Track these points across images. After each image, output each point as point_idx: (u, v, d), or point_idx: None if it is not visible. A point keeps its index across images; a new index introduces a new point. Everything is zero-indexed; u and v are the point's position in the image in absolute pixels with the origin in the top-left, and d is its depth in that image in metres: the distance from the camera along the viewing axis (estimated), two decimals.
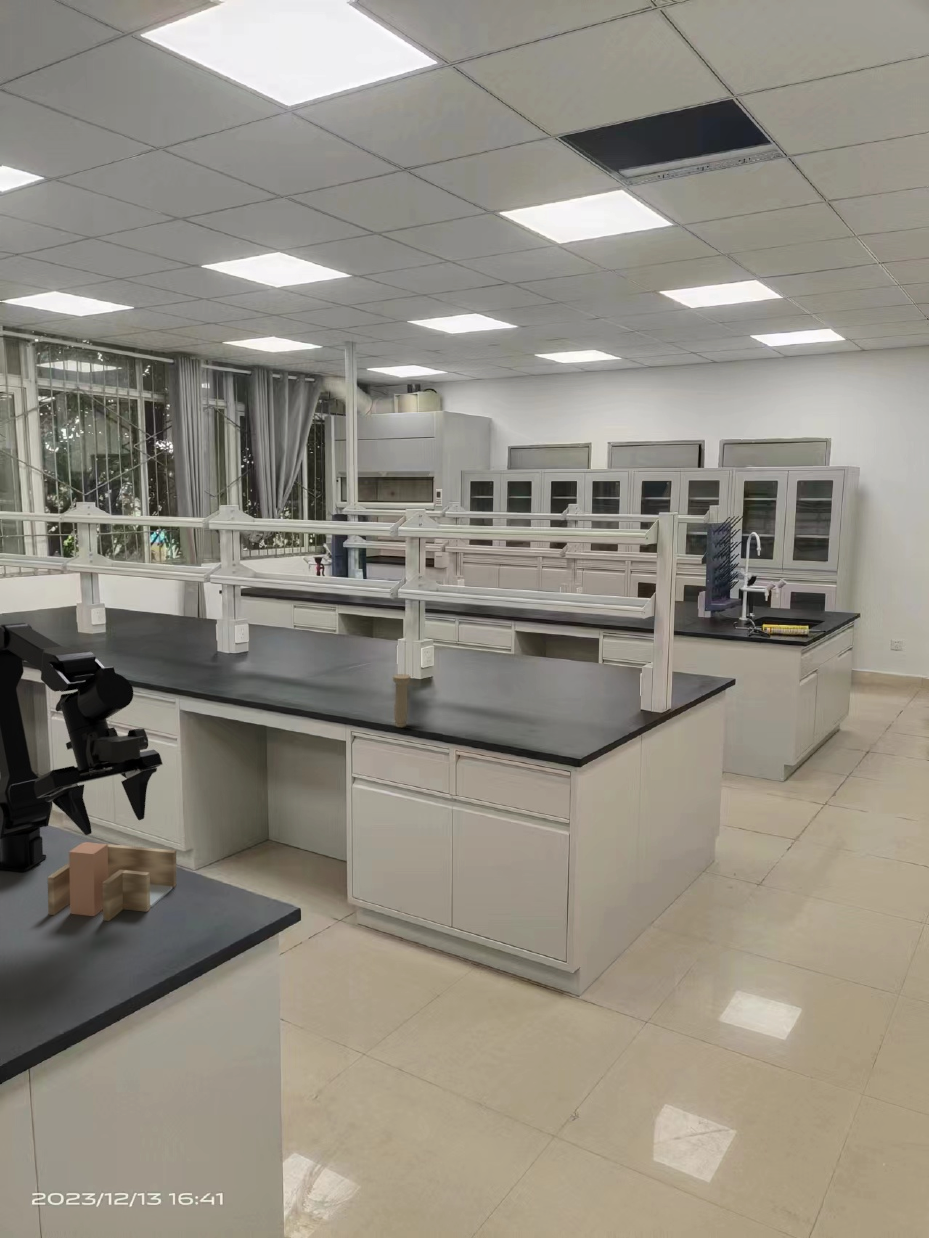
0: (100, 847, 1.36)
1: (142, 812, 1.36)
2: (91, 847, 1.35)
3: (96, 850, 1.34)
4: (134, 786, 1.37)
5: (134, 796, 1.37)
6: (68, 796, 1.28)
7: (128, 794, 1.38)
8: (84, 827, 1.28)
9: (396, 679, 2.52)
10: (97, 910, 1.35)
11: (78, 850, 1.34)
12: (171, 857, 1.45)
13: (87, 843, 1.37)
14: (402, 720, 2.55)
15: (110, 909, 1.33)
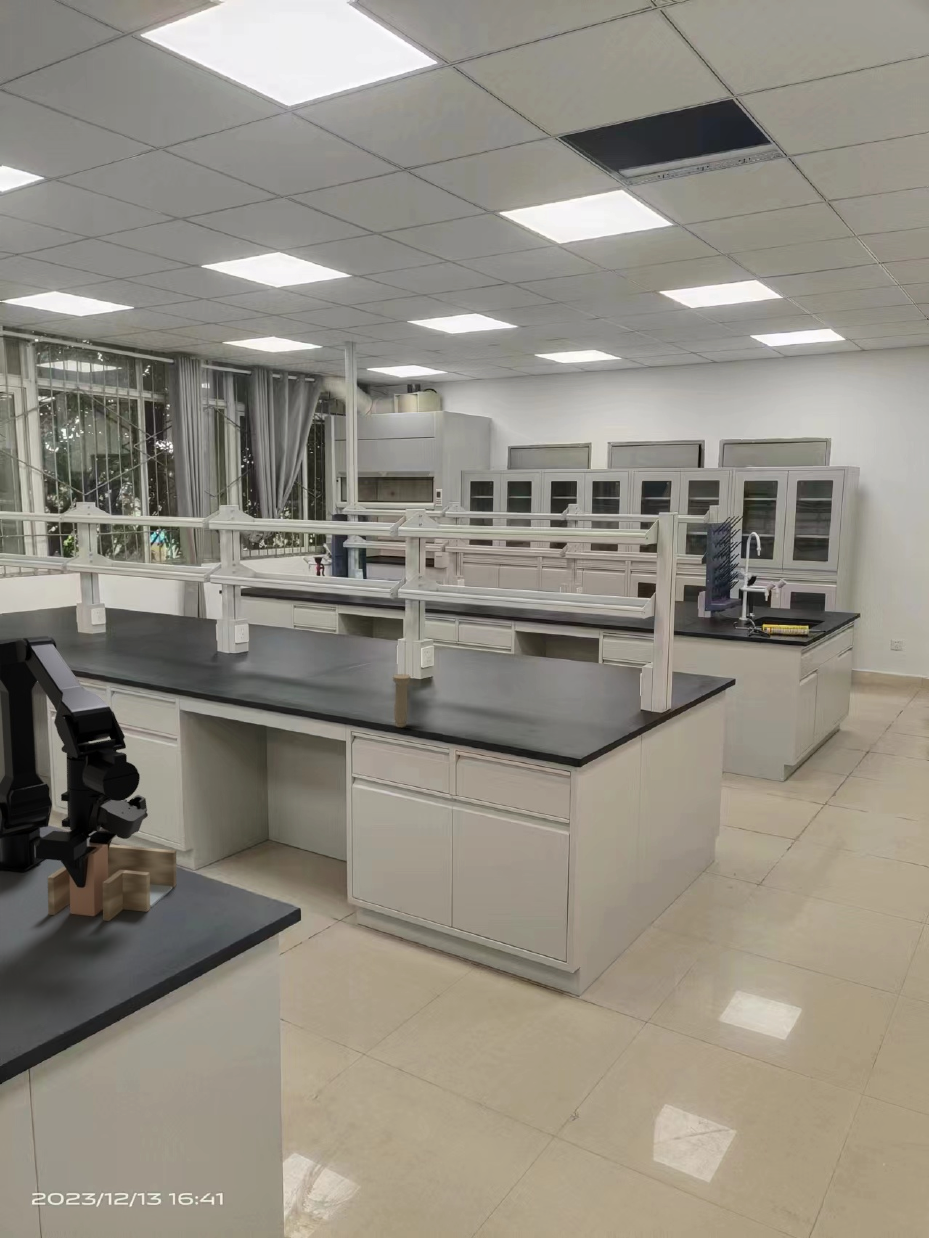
0: (100, 847, 1.36)
1: None
2: None
3: (96, 850, 1.34)
4: None
5: None
6: None
7: None
8: (80, 881, 1.33)
9: (396, 679, 2.52)
10: (97, 910, 1.35)
11: None
12: (171, 857, 1.45)
13: None
14: (402, 720, 2.55)
15: (110, 909, 1.33)
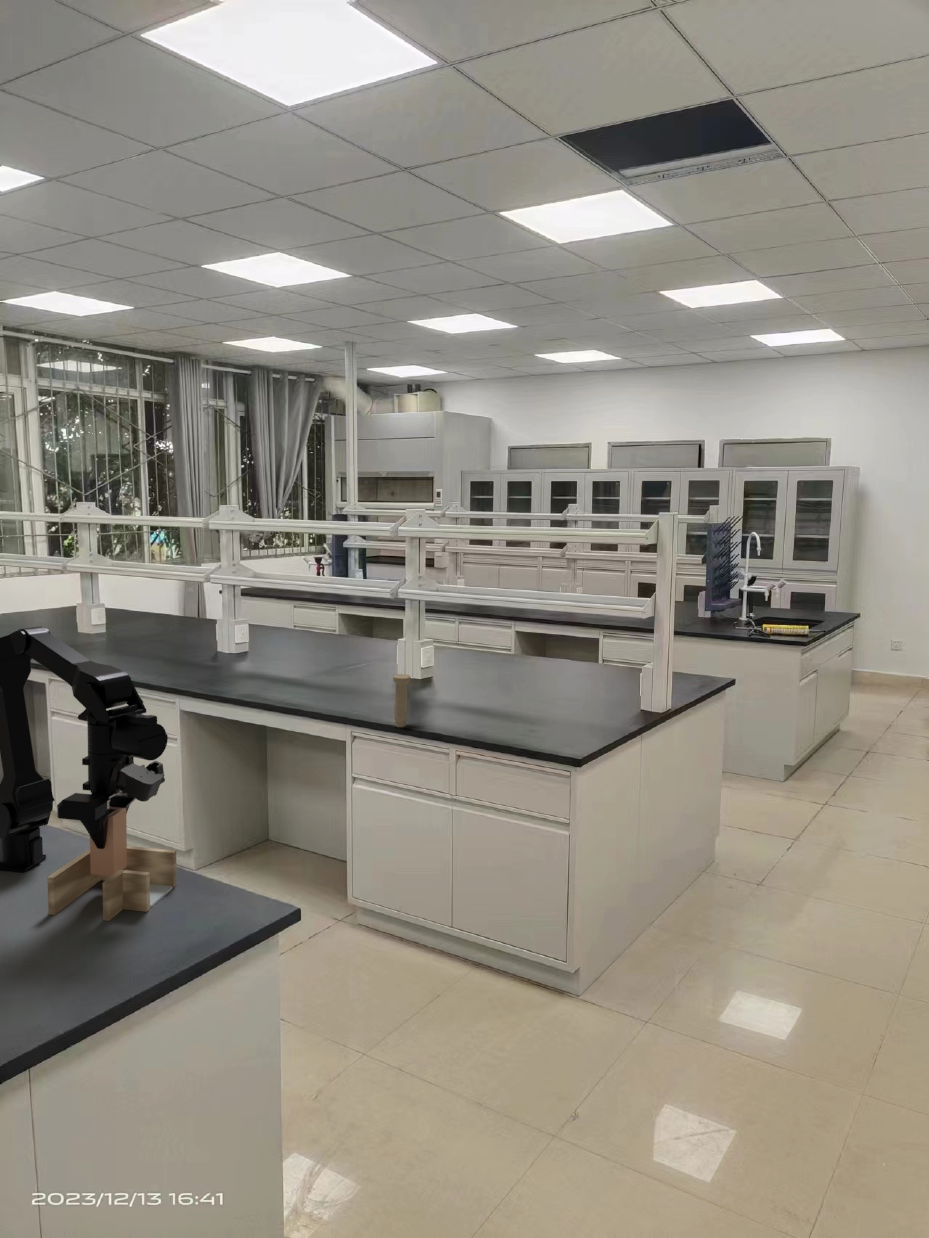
0: (119, 810, 1.41)
1: None
2: None
3: (115, 813, 1.39)
4: None
5: None
6: None
7: None
8: (100, 843, 1.38)
9: (396, 679, 2.52)
10: (116, 871, 1.40)
11: None
12: (171, 857, 1.45)
13: None
14: (402, 720, 2.55)
15: (110, 909, 1.33)
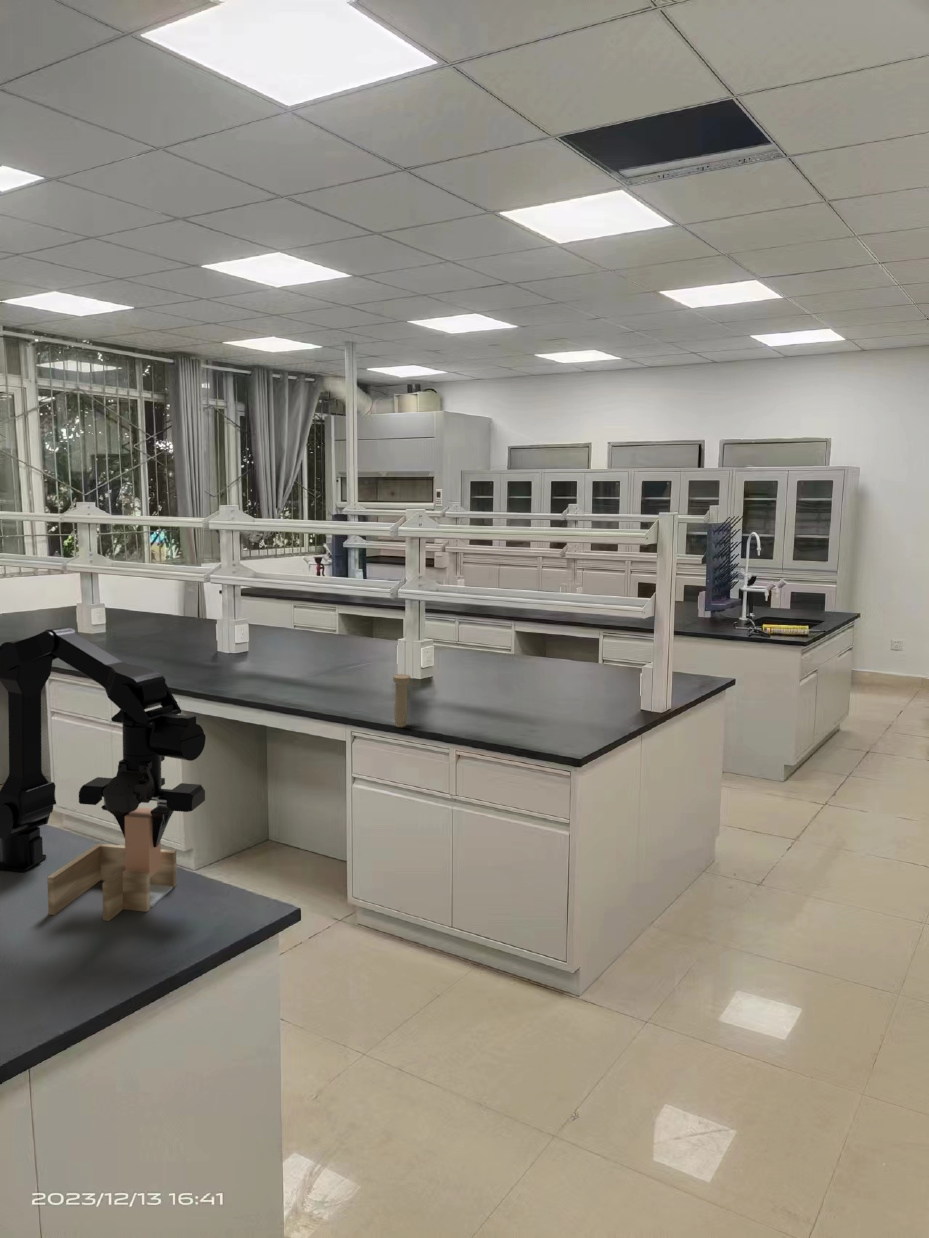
0: (141, 816, 1.38)
1: (153, 842, 1.40)
2: (141, 813, 1.39)
3: (133, 816, 1.38)
4: None
5: None
6: None
7: None
8: None
9: (396, 679, 2.52)
10: None
11: (136, 810, 1.41)
12: (171, 858, 1.45)
13: None
14: (402, 720, 2.55)
15: (110, 909, 1.33)
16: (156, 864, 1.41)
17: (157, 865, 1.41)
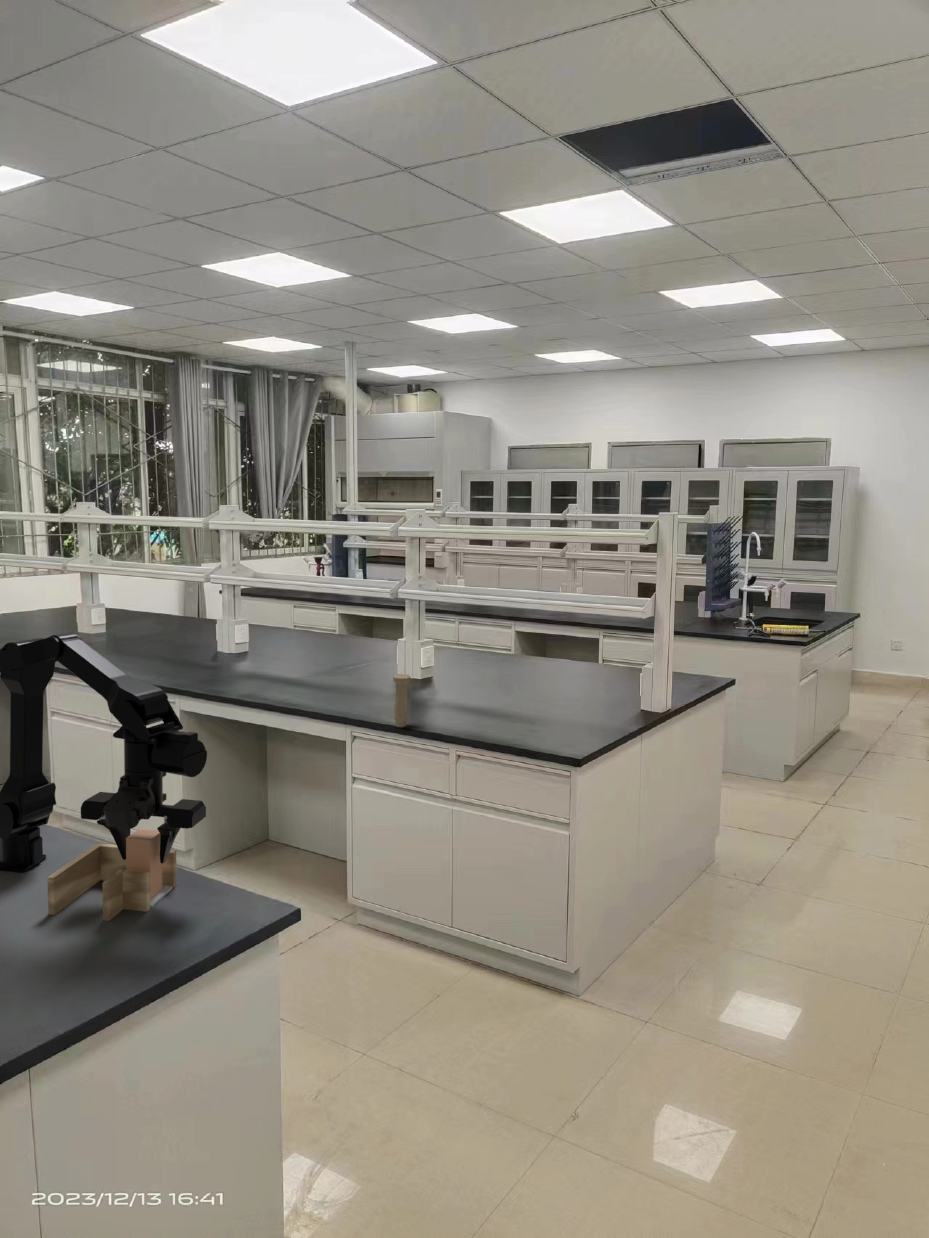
0: (142, 838, 1.39)
1: (161, 858, 1.40)
2: (143, 835, 1.40)
3: (134, 838, 1.39)
4: None
5: None
6: None
7: None
8: None
9: (396, 679, 2.52)
10: None
11: (138, 831, 1.41)
12: (171, 858, 1.45)
13: (157, 832, 1.41)
14: (402, 720, 2.55)
15: (110, 909, 1.33)
16: (157, 886, 1.42)
17: (158, 886, 1.42)
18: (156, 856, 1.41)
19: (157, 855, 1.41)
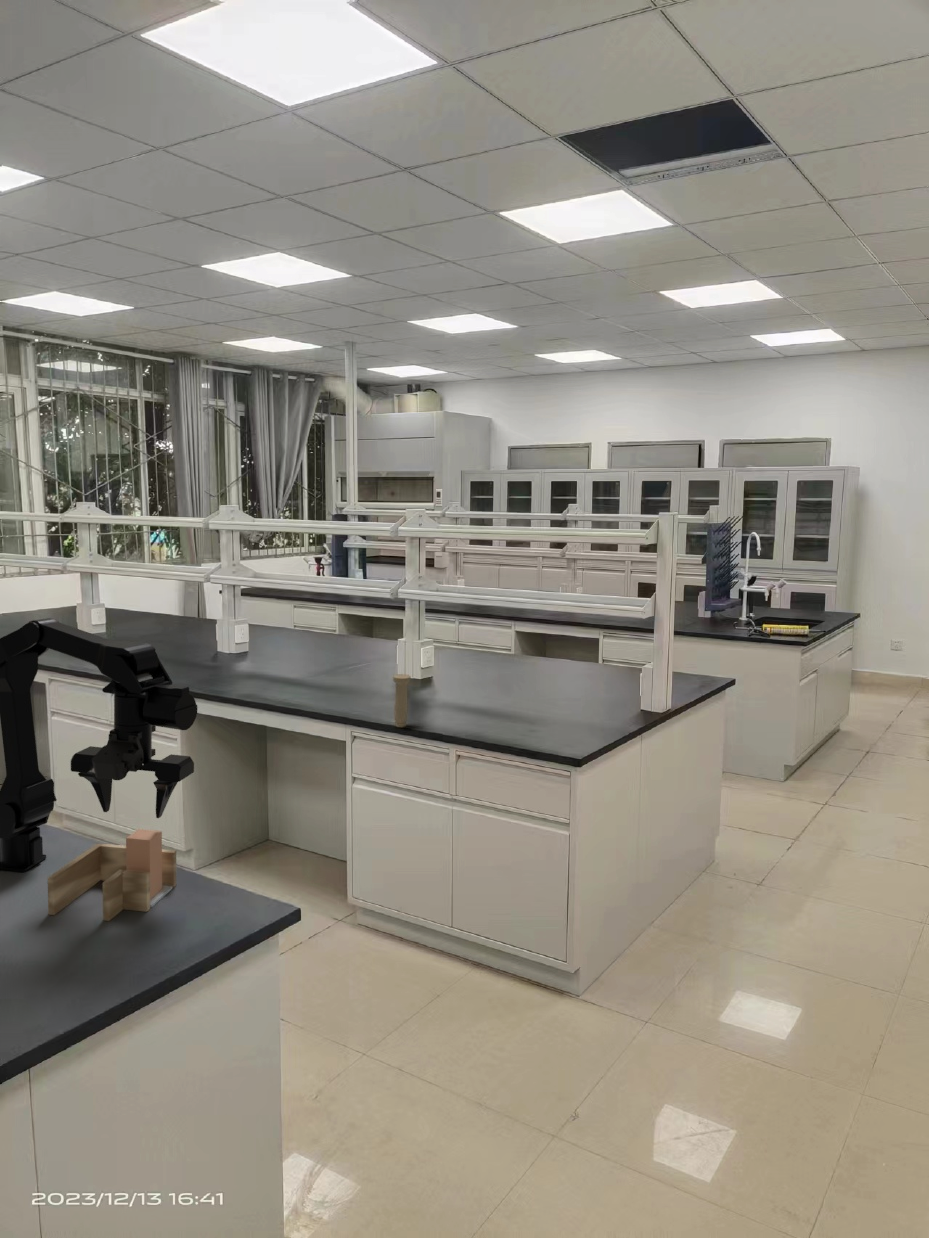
0: (142, 838, 1.39)
1: (156, 813, 1.42)
2: (143, 835, 1.40)
3: (134, 838, 1.39)
4: None
5: None
6: None
7: None
8: None
9: (396, 679, 2.52)
10: None
11: (138, 831, 1.41)
12: (171, 858, 1.45)
13: (156, 832, 1.41)
14: (402, 720, 2.55)
15: (110, 909, 1.33)
16: (157, 885, 1.42)
17: (158, 886, 1.42)
18: (156, 856, 1.41)
19: (157, 855, 1.41)
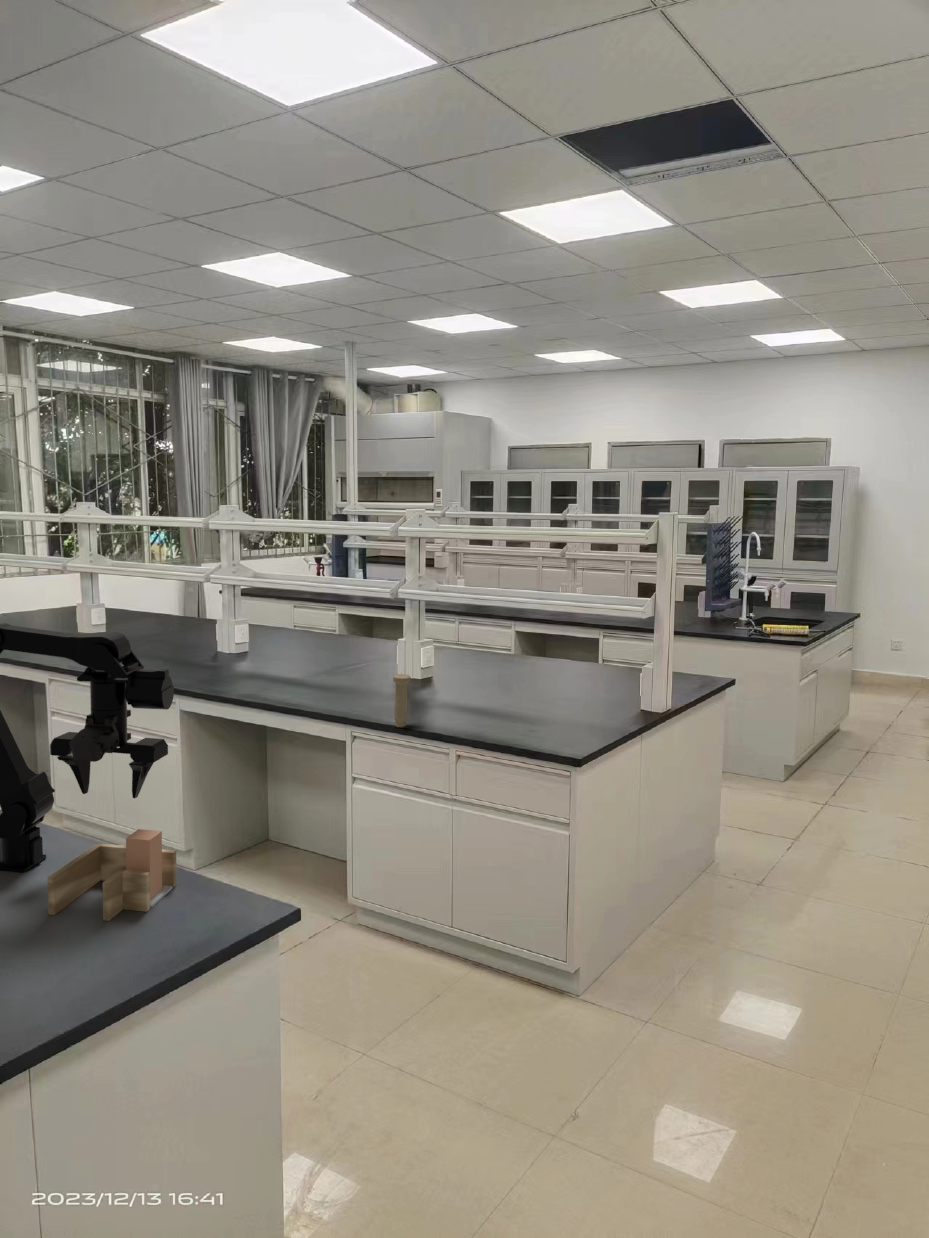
0: (142, 838, 1.39)
1: (133, 793, 1.49)
2: (143, 835, 1.40)
3: (134, 838, 1.39)
4: None
5: None
6: None
7: None
8: None
9: (396, 679, 2.52)
10: None
11: (138, 831, 1.41)
12: (171, 857, 1.45)
13: (156, 832, 1.41)
14: (402, 720, 2.55)
15: (110, 909, 1.33)
16: (157, 885, 1.42)
17: (158, 886, 1.42)
18: (156, 856, 1.41)
19: (157, 855, 1.41)
